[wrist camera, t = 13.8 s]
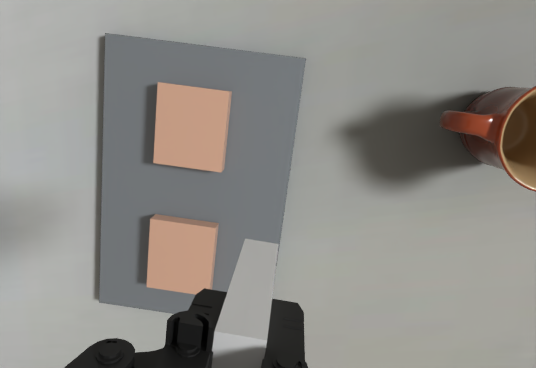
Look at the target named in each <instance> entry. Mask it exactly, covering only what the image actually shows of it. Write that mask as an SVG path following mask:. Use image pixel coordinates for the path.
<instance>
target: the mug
mask: <svg viewBox="0 0 536 368" xmlns="http://www.w3.org/2000/svg"><path fill="white" fill-rule="evenodd" d="M440 126H441V127H442V128H444V129H446V130H450V131H455V132H460V137H461V140H462V142H463V144H464V146H465V148H466V149H467V150H468V151H469V152H470V154H472V155H473V156H474V157H475V158H476V159H478V160H479V161H481V162H483V163H485V164H487V165H491V166H494V167H497V168H500V169H503V170H505V171H506V172H507V174H508V175H509V176H510V177H511V178H512V179H513V180H514V181H515V182H517V183H518V184H519V185H521V186H523V187H525V188H527V189H529V190H532V191H536V86H535V87H533V88H517V87H505V88H500V89H496V90H494V91H491V92H488V93H485V94H483V95H481V96H479V97H478V98H477V99H475V100H474V101H473V102H472V103H471V104H470V105H469V106H468V107H467V108H466V110H465V112H458V111H451V110H447V111H444V112H443V113H442V115H441V118H440Z"/></svg>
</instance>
